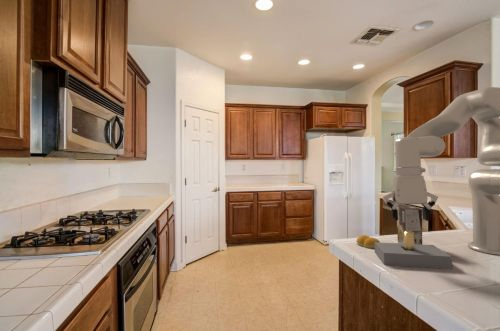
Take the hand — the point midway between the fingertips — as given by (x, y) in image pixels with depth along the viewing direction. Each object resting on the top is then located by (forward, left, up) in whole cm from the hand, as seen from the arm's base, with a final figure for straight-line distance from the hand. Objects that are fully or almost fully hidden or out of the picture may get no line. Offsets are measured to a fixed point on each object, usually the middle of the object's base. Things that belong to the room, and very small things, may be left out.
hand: (410, 219), depth 89 cm
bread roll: (+11, -15, -15) cm, 24 cm away
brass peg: (+1, 0, -14) cm, 14 cm away
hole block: (+1, 0, -14) cm, 14 cm away
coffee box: (-5, -17, -15) cm, 23 cm away
